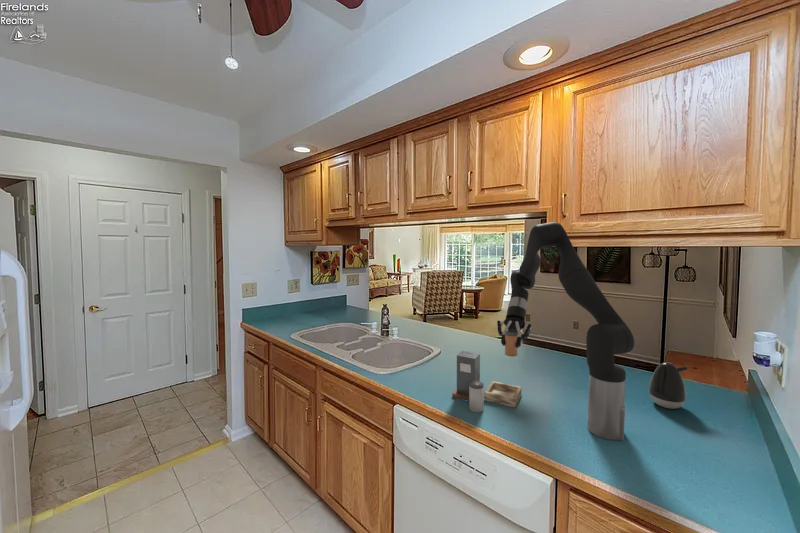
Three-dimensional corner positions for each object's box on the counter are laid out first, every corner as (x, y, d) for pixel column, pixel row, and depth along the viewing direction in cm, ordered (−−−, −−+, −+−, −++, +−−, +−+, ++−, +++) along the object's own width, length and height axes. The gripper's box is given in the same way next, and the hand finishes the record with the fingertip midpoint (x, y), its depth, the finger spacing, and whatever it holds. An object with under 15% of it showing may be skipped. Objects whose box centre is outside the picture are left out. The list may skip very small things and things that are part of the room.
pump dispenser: (692, 414, 109) (694, 370, 108) (654, 409, 112) (656, 366, 111) (678, 400, 118) (680, 359, 117) (643, 396, 122) (645, 356, 121)
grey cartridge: (485, 407, 115) (485, 382, 114) (480, 413, 111) (480, 387, 110) (472, 404, 118) (472, 379, 117) (467, 409, 114) (467, 384, 113)
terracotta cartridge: (518, 353, 133) (518, 331, 133) (516, 357, 129) (516, 334, 128) (506, 351, 136) (506, 330, 135) (503, 355, 132) (503, 333, 131)
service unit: (483, 391, 127) (484, 352, 126) (475, 402, 118) (476, 360, 117) (461, 386, 132) (461, 348, 130) (452, 397, 123) (452, 356, 122)
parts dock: (521, 394, 124) (521, 386, 124) (515, 407, 115) (515, 399, 115) (492, 388, 130) (492, 380, 130) (484, 400, 120) (484, 392, 120)
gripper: (498, 303, 141) (490, 338, 132) (534, 306, 134) (528, 343, 124) (501, 313, 146) (493, 347, 137) (535, 316, 139) (530, 353, 129)
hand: (510, 345), depth 131 cm, fingers closed on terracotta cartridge, 4 cm apart
